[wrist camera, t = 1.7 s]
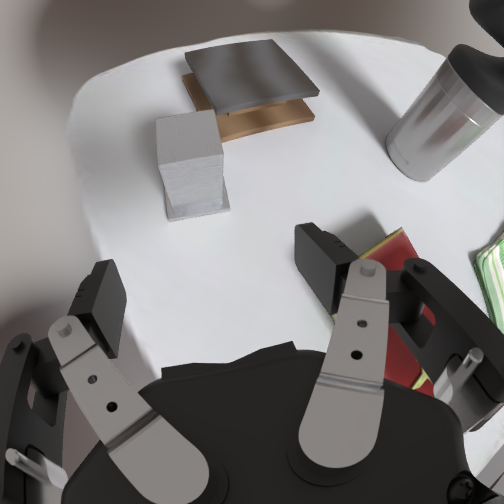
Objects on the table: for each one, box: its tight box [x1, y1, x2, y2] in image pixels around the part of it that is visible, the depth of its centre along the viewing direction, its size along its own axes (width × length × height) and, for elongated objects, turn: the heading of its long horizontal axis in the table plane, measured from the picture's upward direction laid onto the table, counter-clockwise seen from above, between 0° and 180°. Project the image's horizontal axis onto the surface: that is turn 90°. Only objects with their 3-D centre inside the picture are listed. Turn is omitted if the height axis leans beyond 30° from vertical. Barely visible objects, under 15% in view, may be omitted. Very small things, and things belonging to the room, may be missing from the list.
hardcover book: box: [331, 227, 435, 397], centre depth 25 cm, size 12×21×4 cm, turn 30°
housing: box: [156, 109, 230, 222], centre depth 24 cm, size 6×7×9 cm
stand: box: [182, 39, 320, 143], centre depth 31 cm, size 14×14×6 cm
